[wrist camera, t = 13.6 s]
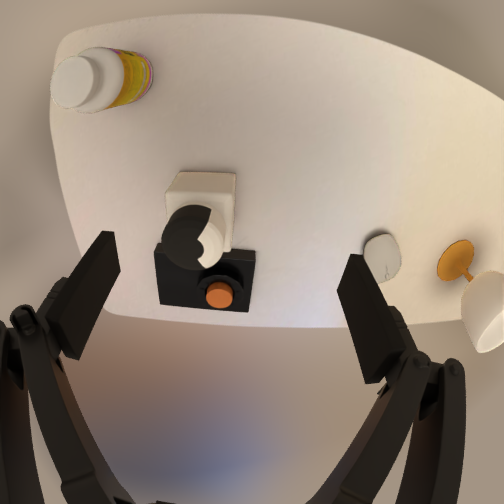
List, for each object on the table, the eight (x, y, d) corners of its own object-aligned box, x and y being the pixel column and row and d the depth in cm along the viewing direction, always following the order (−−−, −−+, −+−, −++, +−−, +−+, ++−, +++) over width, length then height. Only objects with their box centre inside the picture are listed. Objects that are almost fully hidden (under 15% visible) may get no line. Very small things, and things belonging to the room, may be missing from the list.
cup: (432, 244, 40) (487, 316, 26) (481, 225, 38) (538, 285, 24) (429, 293, 47) (468, 363, 32) (474, 274, 44) (517, 334, 30)
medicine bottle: (181, 221, 38) (158, 277, 28) (178, 170, 34) (149, 213, 24) (233, 223, 38) (228, 281, 28) (236, 172, 34) (230, 215, 24)
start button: (207, 299, 41) (206, 307, 40) (207, 280, 39) (206, 288, 38) (231, 301, 41) (231, 309, 40) (233, 282, 39) (233, 290, 38)
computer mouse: (368, 284, 45) (373, 296, 42) (355, 237, 40) (362, 248, 37) (399, 271, 43) (406, 282, 41) (391, 222, 38) (399, 233, 36)
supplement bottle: (157, 50, 25) (108, 38, 15) (152, 102, 29) (102, 118, 18) (106, 54, 25) (43, 52, 14) (103, 104, 28) (41, 123, 18)
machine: (163, 294, 45) (157, 311, 42) (157, 242, 40) (150, 258, 36) (248, 302, 46) (248, 320, 43) (255, 250, 41) (256, 267, 37)
